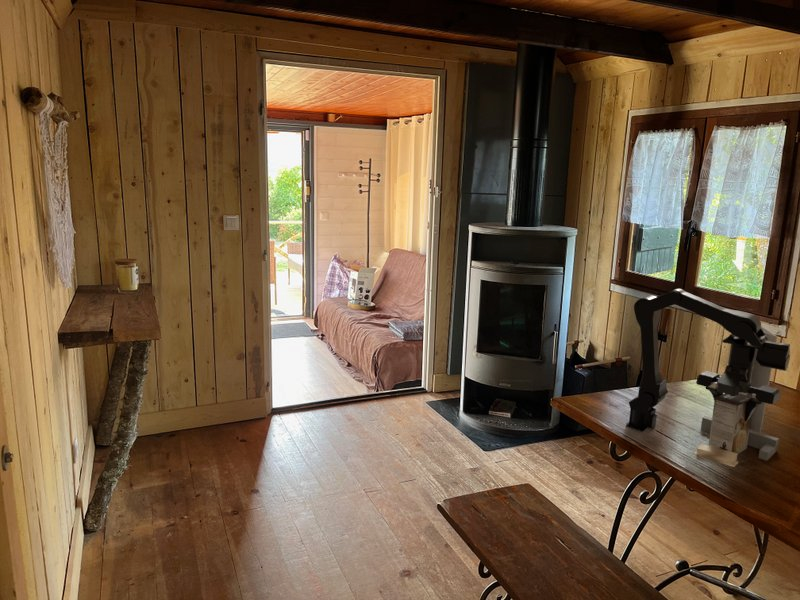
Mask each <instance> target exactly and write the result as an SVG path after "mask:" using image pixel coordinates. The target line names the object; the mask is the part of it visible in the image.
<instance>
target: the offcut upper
mask: <svg viewBox="0 0 800 600" xmlns="http://www.w3.org/2000/svg"><path fill="white" fill-rule="evenodd" d="M696 450H697V453H696V454H695V455H696V456H699V455H700V457H702V456H703V457H702V458H705V457H707V458H706V459H708V458H711V459H714V460H718V461H722V462H725V463H729V464H733V465H735V463H736V461H738V455H739V453H734V452H730V451H726V450H723V449H719V448H715V447H711V446H709V445H707V444H702V443H699V444H698V446H697V449H696ZM711 459H710V460H711ZM714 460H713V461H714Z"/></svg>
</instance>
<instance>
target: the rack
mask: <svg viewBox="0 0 800 600" xmlns="http://www.w3.org/2000/svg"><path fill="white" fill-rule="evenodd" d="M701 419H702V420H701V423H700V425H701V426H700V430H701V431H704V432H706V433H709V434H710V431H711V424H712V417H710V416H707V415H704V416H703V417H702V418H701ZM779 439H780V438H779V437H775V436H771V435H769V434H767V433H763V432H761V433H759V432H756V431H753V430H751V429H750V431H749V438H748V445H747V446H749V447H752V448H755V449H759V452H758V459H760V460H763V461H766V462H767V461H768V460H769V459H771V458H772V456H774V455H775V453H777V451H778V445H779Z"/></svg>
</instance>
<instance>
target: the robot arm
mask: <svg viewBox="0 0 800 600" xmlns="http://www.w3.org/2000/svg"><path fill="white" fill-rule="evenodd" d="M674 305H675V306H678V307H680V308H683V309H684V310H687V311H690V312H692V313H694V314H696V315H697V316H700V317H703V318H706V319H708V320H709V321H712V322H715V323H717V324H718V325H720V326H721V327H722V328H723V329H724V330H726V331H727V332H729V333H730V334H729V336H727V337H724V339H723V340H722V343H724V344H729V345H730V348H729V354H728V361H727V364H726V367H725V369H724V372H722V375H720V373H717V372H713V371H709V370H705V371H703V372H701V373H699V374H698V375H697V376H696V382H695V384H696V385H699V386H702V387H705V390H707V391H709V392H710V393H711V395H712V398H713V400H714V402H715V398H716V397H718V396H720V395H723V394H729V395H730V396H737V395H738V394H739V393H742V392H743V393H750V394H752V396H753V397H752V398H750V399H749V405H748V408H747V412H746V416H745V421H748V419H749V418H750V416H751V415H752V413H753V412H754V410H755V409H756V407H757V406H758V405H759V404H762V403H766V404H768V405H774V404H775V403H776V402H778V400H780V396H781V392H780V390H779V388H775V387H771V386H769V387H768V386H764V385H763V386H762V387H760V388H756V387H752V386H750V384H751V381H752V380H751V375H752V370H753V369H754V365H753V363H754V357H755V351H756V349H758V351H757V355H756V361H758V363H759V364H760V366H764V367H768V368H772V370H773V369H774V370H778V371H779V370H780V371H783V372H787V370H788V368H789V363H790V360H791V344H789V343H785V342H782V343H781V342H777V341H776V342H771V341H767V340H768V338H767V337H766V335H765V333H764V332H763V330H762V329H761V326H762V321H761V319H760V318H759V317H758V316H757V315H756V314H754V313H749V312H746V311H742V310H737V309H736V310H734V309H729V308H725V307H723V306H720V305H718V304H715V303H714V302H711V301H708V300H706V299H705V298H702V297H699V296H697V295H694V294H692V293H690V292H688V291H685V290H684V289H682V288H675V289H673V290H671V291H668V292H666V293H663V294H660V295H651V294H650V295H647V296H646V295H645V296H643V297H641V298H639V299H637V301H635V302H634V305H633V311H634V315H635V320H636V322H637V324H638V327H639V328H640V343H641V345H640V346H641V347H640V348H641V365H642V369H641V370H642V376H641V380H640V383H639V387H638V394H637V396H636V397H634V398H633V399H632V400H630V401H629V402H628V404H629V405H628V406H629V408H630V411H629V418H628V419H629V420H628V422H626V424H625V425H626V427H630V428H632V429H635V430H638V431H641V432H644V431H645V430H647V429H652V428H655V427H656V425H657V417H658V416H657V409H656V408H655V407H656V406H657V405H659V403H661V402H662V401H664V399H665V398H666V396H667V394H668V393H669V391H668V388H667V387H668V380H667V379H662V376H661V374H660V363H659V362H660V361H659V360H660V359H659V340H658V339H659V338H658V337H659V335H658V327H659V324H660V320H661V316H662V310H663V309H665V308H669V307H671V306H674Z"/></svg>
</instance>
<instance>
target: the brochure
mask: <svg viewBox="0 0 800 600" xmlns="http://www.w3.org/2000/svg"><path fill="white" fill-rule="evenodd" d="M761 329H762V330H763V332H764V333H765V335H766V337H767V338H768V340H767V341H771V342H776V343H777V340H778V336H777V335H776V334H775V333H773V332H772V331H770V330H769V329H767V328H765V327H764V326H762V325H761ZM757 351H758V349H756V351H755V357H754V363H753V365H754V369H753V370H752V375H751V380H752V381H751V384H750V386H752V387H756V388H760V387H762V386H763V385H764V386H768V387H770V382H771V381H770V380H771V376H772V375H771V374H772V370H773V368H768V367H764V366H760V364H759V363H758V361H756V355H757ZM740 394H744V395H747V396H751V397H753V396H752V394H750V393H743V392H742V393H740ZM766 404H767V403H762V404H759V405H758V406H757V407H756V409H755V410H754V412H753V413H752V418H751V425H750V430H753V431H756V432H759V433H762V427H763V422H764V418H765V417H764V416H765V411H766Z"/></svg>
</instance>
